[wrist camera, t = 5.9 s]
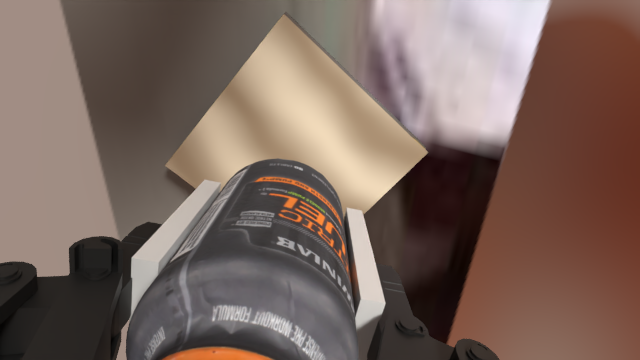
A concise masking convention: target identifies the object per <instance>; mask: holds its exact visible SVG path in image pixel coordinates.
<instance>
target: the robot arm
mask: <svg viewBox="0 0 640 360" xmlns="http://www.w3.org/2000/svg"><path fill="white" fill-rule="evenodd" d="M220 188H221V183H220V182H215V181H209V180H204V181H203V182H202V183H201V184H200V185H199V186H198V187H197V188H196V189H195V191H194V192H193V193H192V194H191V195H190V196H189V197H188V198H187V199H186V200H185V201H184V202H183V203H182V204H181V205H180V207H179V208H178V209H177V210H176V211H175V212H174V213H173V214H172V215H171V216H170V217H169V218H168V219H167V220H166V222H165V223H164V224H163V225H162V224H157V223H151V222H147V223H145V224H142V225H140V226H138V227H136V228H135V229H134V230H133V231H131V232H130V233H129V234H128V236H126V237H125V238H124V239H123V240H122V242H120V241H119V240H117V239H114V238H112V237H104V236H99V237H90V238H86V239H82V240H80V241H78V242H76V243H74V244H73V245H72V246H71V247H70V248H69V263H70V274H69V275H68V276H53V277H37V272H36V268H35V267H34V266H33V265H32V264H29V263H25V262H7V263H6V262H5V263H0V360H116V358H117V354H118V350H119V347H120V343H121V329H122V328H123V327H124V325H125V324H126V323H127V321H128V320H129V318H130V320H131V317H132V315H133V312H134V310H135V308H136V306H137V304H138V303H139V301H140V299H141V297H142V296H143V294H144V293H145V292H146V290H147V289H148V288H149V286H150V285H151V284H152V282H153V281H154V280H155V278H156V277H157V276H158V274H159V273H160V272H161V270H162V269H163V268H164V266H165V265H166V264H167V262H168V261H169V259H170V258H171V257H172V256H173V254H174V253H175V252H176V250H177V249H178V248H179V246H180V245H181V244H182V242H183V241H184V240H185V238H186V237H187V236H188V234H189V233H190V232H191V230H192V229H193V228H194V226H195V225H196V223H197V222H198V221H199V219H200V218H201V217H202V215H203V214H204V213H205V211H206V210H207V209H208V208H209V206H210V205H211V204H212V202H213V201H214V200H215V198H216V197H217V195H218V194H219V193H220ZM344 228H345V236H346V245H347V254H348V261H349V272H350V281H351V288H352V296H353V304H354V310H355V321H356V330H357V336H358V348H359V356H358V360H367V359H368V360H499V358H498V357H497V356H496V354H495V353H493V352H492V351H491V350H490V349H489V348H488V347H486V346H485V345H483V344H481V343H480V342H477V341H474V340H471V339H461V340H459V341H458V342H457V344H456V345H455V348H454V347H451V346H449V345H447V344H444V343H442V342H439V341H437V340H435V339H433V338H431V337H430V336H429V334H428V330H427V328H426V327H425V325H424V324H423V323H422V322H421V321H420V320H418V319H417V318H416V317H414V316H413V314H412V311H411V308H410V305H409V303H408V300H407V297H406V294H405V293H404V288H403V286H402V283H401V280H400V277H399V275H398V273H397V272H396V271H395V270H394V269H393V268H392V267H391V266H386V265H381V264H375V260H374V256H373V252H372V248H371V244H370V240H369V236H368V232H367V228H366V225H365V221H364V217H363V213H362V210H357V209H352V208H347V207H346V211H345V215H344Z"/></svg>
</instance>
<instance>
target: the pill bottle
mask: <svg viewBox="0 0 640 360" xmlns="http://www.w3.org/2000/svg"><path fill="white" fill-rule="evenodd" d="M126 356H127V360H358V356H359V348H358V336H357V330H356V321H355V310H354V304H353V296H352V288H351V281H350V272H349V261H348V254H347V245H346V236H345V228H344V219H343V211H342V206H341V202H340V199H339V196H338V194H337V192H336V191H335V189H334V188H333V186H332V185H331V184H330V183H329V181H328V180H327V179H326V178H325V177H324V175H322V174H321V173H319V172H318V171H316V170H315V169H314V168H312V167H310V166H308V165H306V164H304V163H301V162H298V161H294V160H286V159H279V158H277V159H267V160H262V161H258V162H255V163H253V164H250V165H248V166H246V167H244V168H242V169H241V170H239V171H238V172H237V173H236V174H235V175H234V176H233V177H231V178H230V180H229V181H228V182H227V183H226V185H225V186H224V187H223V188H222V190H221V191H220V193H219V194H218V195H217V197H216V198H215V200H214V201H213V202H212V204H211V205H210V206H209V208H208V209H207V210H206V211H205V213H204V214H203V215H202V217H201V218H200V219H199V221H198V222H197V223H196V225H195V226H194V228H193V229H192V230H191V232H190V233H189V234H188V236H187V237H186V238H185V240H184V241H183V242H182V244H181V245H180V246H179V248H178V249H177V250H176V252H175V253H174V254H173V256H172V257H171V258H170V259H169V261H168V262H167V264H166V265H165V266H164V268H163V269H162V270H161V272H160V273H159V274H158V276H157V277H156V278H155V280H154V281H153V282H152V284H151V285H150V286H149V288H148V289H147V290H146V292H145V293H144V294H143V296H142V297H141V299H140V301H139V303H138V304H137V306H136V308H135V310H134V312H133V315H132V317H131V320H130V323H129V327H128V331H127V339H126Z"/></svg>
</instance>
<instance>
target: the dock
mask: <svg viewBox="0 0 640 360" xmlns="http://www.w3.org/2000/svg"><path fill="white" fill-rule="evenodd" d="M427 153H428V152H427V151H426V150H425V146H424V145H423V144H422V143H421V142H420V141H419V140H418V139H417V138H416V137H415V136H414V135H413V134H412V133H411V132H410V131H409V130H408V129H407V128H406V127H405V126H404V125H403V124H402V123H401V122H399V121H398V120H397V119H396V118H395V117H394V116H393V115H392V114H391V113H390V112H389V111H388V110H387V109H386V108H385V107H384V106H383V105H382V104H381V103H380V102H379V101H378V100H377V99H376V98H375V97H374V96H373V95H372V94H370V93H369V92H368V91H367V90H366V89H365V88H364V87H363V86H362V85H361V84H360V83H359V82H358V81H357V80H356V79H355V78H354V77H353V76H352V75H351V74H350V73H349V72H348V71H347V70H346V69H345V68H344V67H342V66H341V65H340V64H339V63H338V62H337V61H336V60H335V59H334V58H333V57H332V56H331V55H330V54H329V53H328V52H327V51H326V50H325V49H324V48H323V47H322V46H321V45H320V44H319V43H318V42H317V41H316V40H315V39H313V38H312V37H311V36H310V35H309V34H308V33H307V32H306V31H305V30H304V29H303V28H302V27H301V26H300V25H299V24H298V23H297V22H296V21H295V20H294V19H293V18H292V17H291V16H290V15H289V14H288V13H287V12H285V13H284V14H283V15H282V17H281V18H280V19H279V20H278V22H277V23H276V24H275V26H274V27H273V28H272V29H271V31H270V32H269V33H268V35H267V36H266V37H265V38H264V40H263V41H262V42H261V43H260V45H259V46H258V47H257V49H256V50H255V51H254V52H253V54H252V55H251V56H250V58H249V59H248V60H247V61H246V63H245V64H244V65H243V66H242V68H241V69H240V70H239V72H238V73H237V74H236V75H235V77H234V78H233V79H232V81H231V82H230V83H229V84H228V86H227V87H226V88H225V89H224V91H223V92H222V93H221V95H220V96H219V97H218V98H217V100H216V101H215V102H214V104H213V105H212V106H211V107H210V109H209V110H208V111H207V112H206V114H205V115H204V116H203V118H202V119H201V120H200V121H199V123H198V124H197V125H196V127H195V128H194V129H193V130H192V132H191V133H190V134H189V135H188V137H187V138H186V139H185V141H184V142H183V143H182V144H181V146H180V147H179V148H178V150H177V151H176V152H175V153H174V155H173V156H172V157H171V158H170V160H169V161H168V162H167V164H166V165H165V166H166V167H168V168H169V169H170V170H172V171H173V172H174V173H176V174H177V175H178V176H180V177H181V178H182V179H184V180H185V181H186V182H187V183H189V184H190V185H191V186H193V187H194V188H195V189H196V188H197V187H198V186H199V185H200V184H201V183H202V182H203V181H204V180H209V181H215V182H220V183H221V188H220V191H221V190H222V188H223V187H224V186H225V185H226V183H227V182H228V181H229V180H230V178H231V177H233V176H234V175H235V174H236V173H237V172H238V171H239V170H241V169H242V168H244V167H246V166H248V165H250V164H253V163H255V162H258V161H262V160H267V159H277V158H279V159H286V160H294V161H298V162H301V163H304V164H306V165H308V166H310V167H312V168H314V169H315V170H316V171H318V172H319V173H321V174H322V175H324V177H325V178H326V179H327V180H328V181H329V183H330V184H331V185H332V186H333V188H334V189H335V191H336V192H337V194H338V196H339V199H340V202H341V206H342V211H343V219H344V215H345V211H346V207H347V208H352V209H357V210H362V213H363V214H364V213H366V212H367V211H368V210H369V209H370V208H371V207H372V206H373V205H374V204H375V203H376V202H377V201H378V200H379V199H380V198H381V197H382V196H383V195H384V194H385V193H386V192H387V191H388V190H390V189H391V188H392V187H393V186H394V185H395V184H396V183H397V182H398V181H399V180H400V179H401V178H402V177H403V176H404V175H405V174H406V173H407V172H408V171H409V170H410V169H411V168H412V167H414V166H415V165H416V164H417V163H418V162H419V161H420V160H421V159H422V158H423V157H424V156H425V155H426V154H427Z"/></svg>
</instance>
